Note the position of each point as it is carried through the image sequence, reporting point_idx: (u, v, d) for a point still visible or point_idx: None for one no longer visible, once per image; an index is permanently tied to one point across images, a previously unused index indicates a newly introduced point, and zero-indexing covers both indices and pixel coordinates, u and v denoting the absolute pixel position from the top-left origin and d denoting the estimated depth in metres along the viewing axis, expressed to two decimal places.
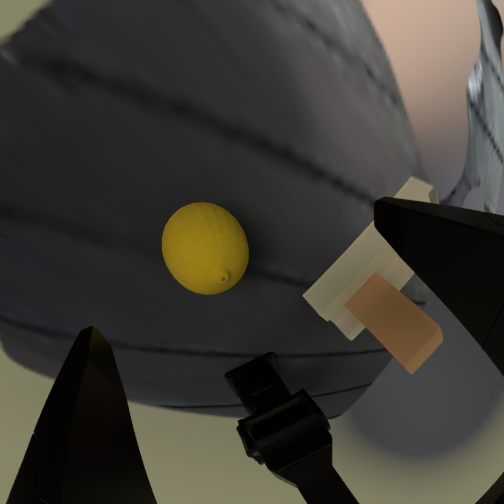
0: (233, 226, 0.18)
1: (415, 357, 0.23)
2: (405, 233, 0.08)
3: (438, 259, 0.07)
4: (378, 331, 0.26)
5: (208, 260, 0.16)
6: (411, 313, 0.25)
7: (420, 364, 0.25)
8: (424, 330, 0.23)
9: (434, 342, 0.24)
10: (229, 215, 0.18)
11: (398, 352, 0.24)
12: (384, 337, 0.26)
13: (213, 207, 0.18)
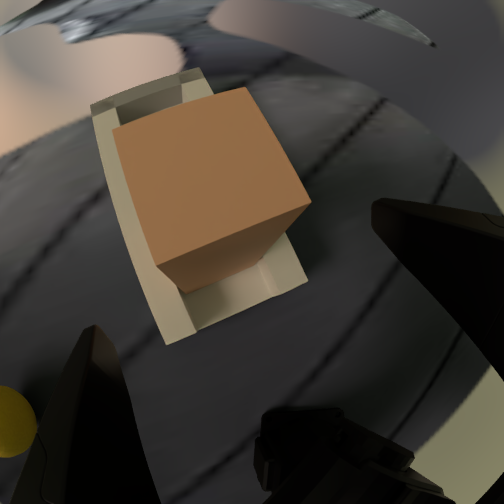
0: None
1: (158, 215, 0.08)
2: (403, 234, 0.08)
3: (436, 261, 0.07)
4: None
5: None
6: None
7: (278, 167, 0.09)
8: None
9: (186, 129, 0.09)
10: None
11: None
12: None
13: None
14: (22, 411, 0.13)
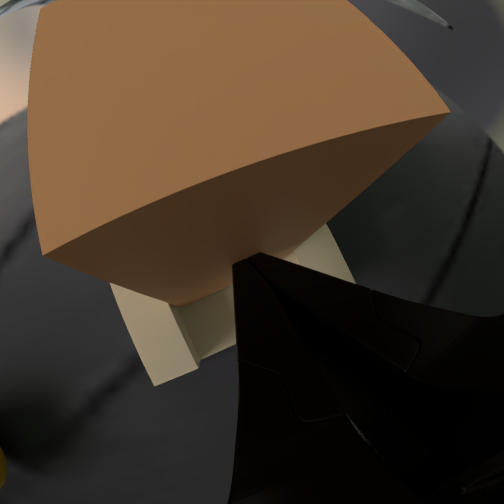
0: None
1: (72, 112, 0.02)
2: None
3: (307, 343, 0.06)
4: None
5: None
6: None
7: (372, 40, 0.03)
8: None
9: None
10: None
11: None
12: None
13: None
14: None
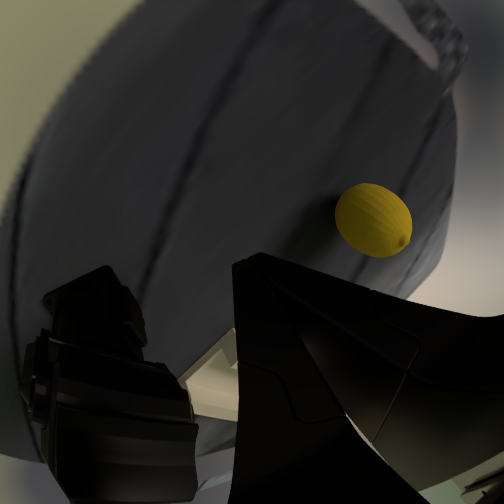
0: None
1: None
2: None
3: (307, 343, 0.06)
4: None
5: (411, 229, 0.20)
6: None
7: None
8: None
9: None
10: None
11: None
12: None
13: None
14: None
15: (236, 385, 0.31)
